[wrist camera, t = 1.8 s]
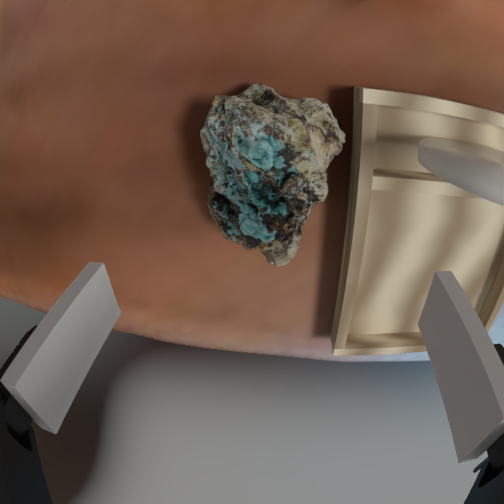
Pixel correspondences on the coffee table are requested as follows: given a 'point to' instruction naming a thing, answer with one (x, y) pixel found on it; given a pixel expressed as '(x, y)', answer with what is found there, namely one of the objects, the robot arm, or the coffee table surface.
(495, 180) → the standing plate
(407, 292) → the wooden tray
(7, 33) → the coffee table surface
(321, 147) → the mineral specimen
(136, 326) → the coffee table surface
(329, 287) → the coffee table surface
